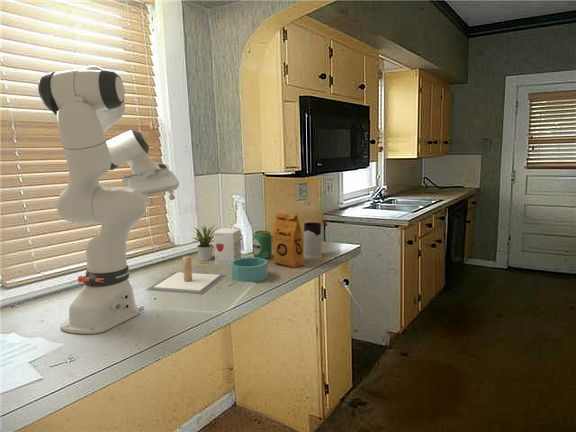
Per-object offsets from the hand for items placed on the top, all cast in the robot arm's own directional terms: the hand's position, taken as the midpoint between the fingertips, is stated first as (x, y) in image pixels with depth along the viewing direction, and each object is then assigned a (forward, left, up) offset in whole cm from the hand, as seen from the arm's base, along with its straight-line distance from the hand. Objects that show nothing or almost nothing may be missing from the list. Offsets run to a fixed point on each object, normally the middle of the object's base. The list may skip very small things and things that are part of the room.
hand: (162, 201), depth 158 cm
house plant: (+30, -4, -30) cm, 43 cm away
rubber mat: (-4, -11, -30) cm, 32 cm away
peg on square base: (-4, -11, -30) cm, 32 cm away
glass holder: (+46, -51, -30) cm, 75 cm away
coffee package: (+28, -42, -30) cm, 59 cm away
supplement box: (+24, -16, -31) cm, 42 cm away
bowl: (+8, -31, -30) cm, 44 cm away
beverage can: (+36, -28, -30) cm, 55 cm away
